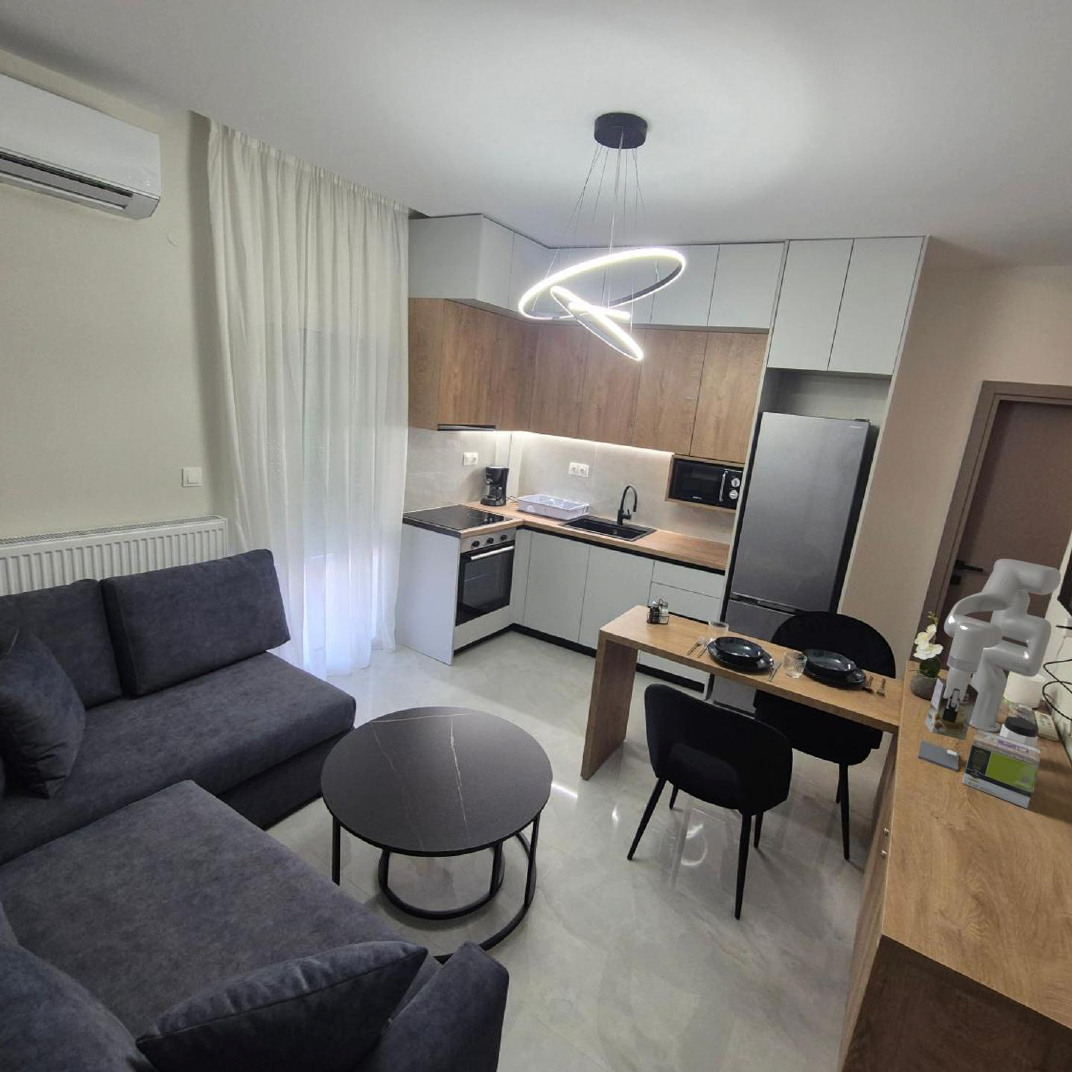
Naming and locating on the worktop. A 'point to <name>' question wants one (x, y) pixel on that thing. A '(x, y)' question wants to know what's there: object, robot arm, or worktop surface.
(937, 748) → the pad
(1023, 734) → the jar
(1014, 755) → the tea box
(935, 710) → the coffee box
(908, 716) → the worktop surface
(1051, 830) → the worktop surface
